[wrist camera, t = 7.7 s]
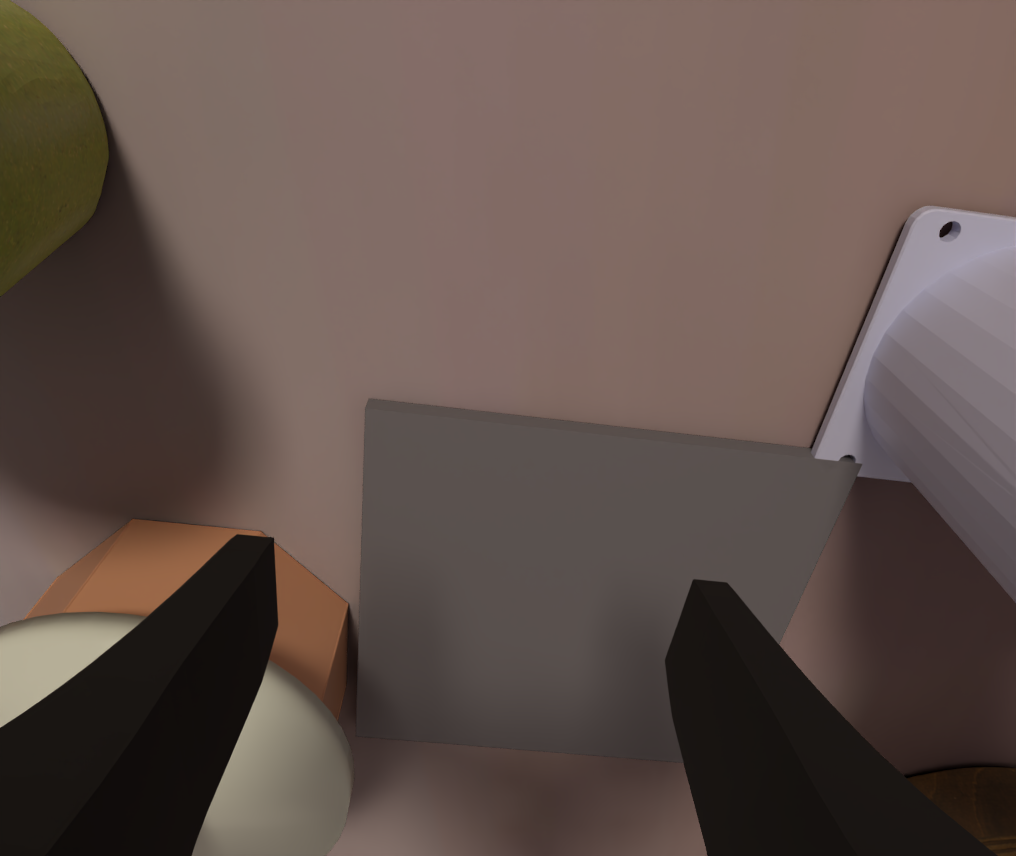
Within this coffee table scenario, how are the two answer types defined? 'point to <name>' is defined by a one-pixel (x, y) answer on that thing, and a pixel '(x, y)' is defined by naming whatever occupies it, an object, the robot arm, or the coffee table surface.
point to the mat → (562, 570)
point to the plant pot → (43, 145)
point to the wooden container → (977, 802)
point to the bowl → (180, 554)
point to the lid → (255, 759)
